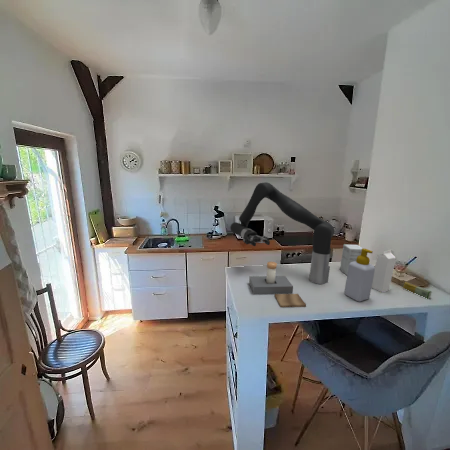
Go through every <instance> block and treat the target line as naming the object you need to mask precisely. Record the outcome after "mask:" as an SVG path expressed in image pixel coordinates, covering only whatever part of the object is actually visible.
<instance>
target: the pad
mask: <svg viewBox="0 0 450 450" xmlns="http://www.w3.org/2000/svg"><path fill="white" fill-rule="evenodd" d="M273 295H274V296H273V297H274V299H275V300H276V302H277V303H278V305H279V307H280V308H305V307H307V304H306V302H305V301H304V300H303V298H302V297H301V296H300V294H299V293H292V294H273Z"/></svg>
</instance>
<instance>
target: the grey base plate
mask: <svg viewBox="0 0 450 450" xmlns="http://www.w3.org/2000/svg"><path fill="white" fill-rule="evenodd" d="M266 278H267V275H266V276H265V275H261V276H259V275H258V276H257V275H256V276H254V275H252V276H249V280H248V281H249V282H248V284H249V287H250V288H251V291H252V294H253V295H275V294H294V293H293V292H294V285H293V284H292V283H291V281H290V280H289V279H288V277H287V276H286V275H275V284H267V283H266Z"/></svg>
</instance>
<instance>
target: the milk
mask: <svg viewBox="0 0 450 450" xmlns="http://www.w3.org/2000/svg"><path fill="white" fill-rule="evenodd" d="M396 259H397V257H396V256H395V255H394V254H393V253H392V249H389V250H384V251H383V252H382V253H380V254H377V256H376V262H375V265H374V267H375V272H374V277H373V282H372V287H371V289H374V290H375V291H378V292H380V293H384V292H388V290H389V291H390V288H391V287H390V286H391V283H392V278H393V273H394V267H395V264H396Z"/></svg>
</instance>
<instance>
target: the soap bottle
mask: <svg viewBox="0 0 450 450" xmlns="http://www.w3.org/2000/svg"><path fill="white" fill-rule="evenodd" d="M368 254H373V251H372V250H370V249H368V248H364V247H362V251H361V255H359V256H358V257H357V259H356V261H354V262H351V263H350V264H349V267H348V273H347V275H346V281H345V285H344V291H343V293H344V295H345V296H347V297H349V298H351V299H353V300H354V301H357V302H363V301H366V300H369V299H370V296H371V292H372V282H373V277H374V272H375V265H374V264H372V263H371V262H370V261H371V260H370V258H369V257H368Z"/></svg>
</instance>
